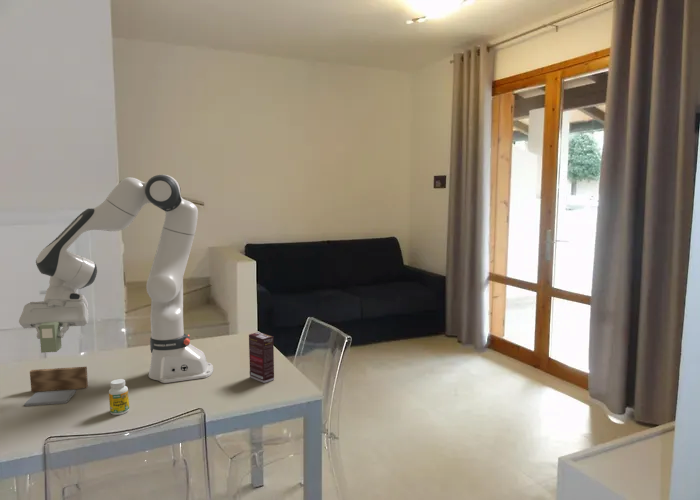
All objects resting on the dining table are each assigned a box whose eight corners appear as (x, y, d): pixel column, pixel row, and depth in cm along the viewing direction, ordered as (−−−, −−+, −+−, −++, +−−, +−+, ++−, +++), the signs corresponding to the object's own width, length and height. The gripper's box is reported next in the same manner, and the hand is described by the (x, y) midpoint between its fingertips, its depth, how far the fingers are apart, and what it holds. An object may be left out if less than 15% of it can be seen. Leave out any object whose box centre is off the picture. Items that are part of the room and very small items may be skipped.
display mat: (75, 391, 171) (75, 389, 170) (66, 403, 162) (66, 400, 162) (36, 394, 168) (36, 392, 168) (24, 406, 160) (24, 403, 159)
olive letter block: (61, 347, 169) (59, 321, 168) (56, 352, 165) (54, 324, 164) (46, 348, 169) (44, 321, 168) (40, 352, 164) (38, 325, 163)
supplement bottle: (127, 406, 160) (125, 376, 158) (131, 412, 155) (129, 382, 154) (108, 410, 157) (106, 380, 155) (111, 417, 152) (109, 386, 151)
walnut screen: (88, 386, 175) (86, 366, 174) (86, 388, 174) (85, 368, 173) (33, 390, 172) (31, 369, 171) (31, 391, 171) (29, 371, 170)
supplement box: (275, 379, 181) (274, 336, 179) (264, 383, 178) (263, 339, 176) (260, 373, 187) (259, 331, 185) (249, 377, 184) (248, 334, 182)
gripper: (22, 297, 170) (10, 334, 161) (88, 294, 173) (80, 331, 165) (29, 307, 175) (18, 343, 166) (93, 304, 178) (86, 340, 170)
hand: (49, 337), depth 166 cm, fingers closed on olive letter block, 4 cm apart
